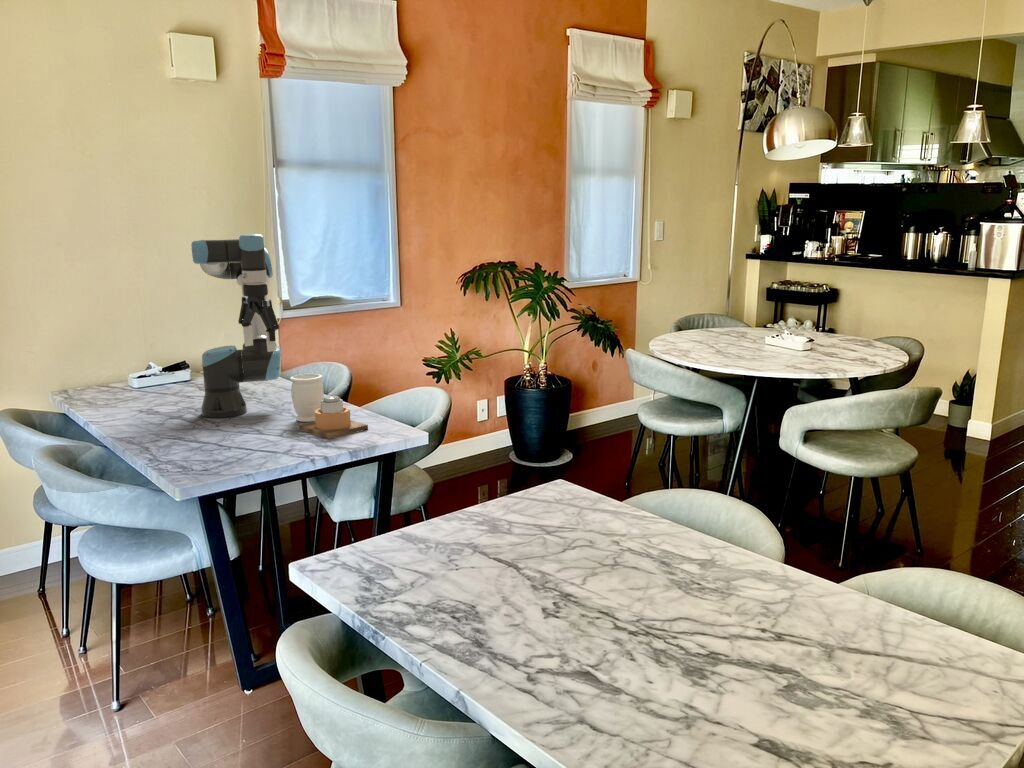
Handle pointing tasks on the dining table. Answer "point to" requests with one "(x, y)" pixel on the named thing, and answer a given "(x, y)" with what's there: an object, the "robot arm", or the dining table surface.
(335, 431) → the wooden board
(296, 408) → the jar
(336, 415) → the ring
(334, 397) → the frosted glass cylinder
